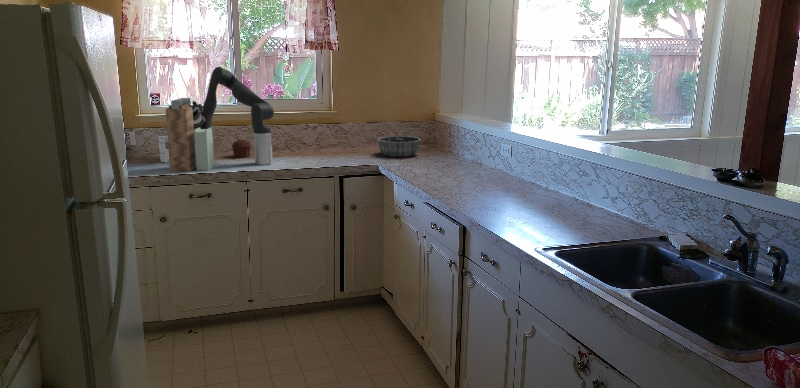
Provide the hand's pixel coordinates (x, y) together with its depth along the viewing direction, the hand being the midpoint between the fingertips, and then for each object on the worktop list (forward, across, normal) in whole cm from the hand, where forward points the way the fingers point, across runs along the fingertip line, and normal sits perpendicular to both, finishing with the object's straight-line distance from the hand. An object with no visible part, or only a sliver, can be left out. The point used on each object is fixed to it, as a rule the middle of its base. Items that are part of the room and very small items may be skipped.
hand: (185, 102), depth 321 cm
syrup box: (-27, -15, +24) cm, 39 cm away
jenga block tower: (-8, 0, +35) cm, 36 cm away
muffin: (-41, +23, +16) cm, 49 cm away
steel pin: (+5, 0, +5) cm, 7 cm away
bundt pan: (-48, +116, +12) cm, 126 cm away
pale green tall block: (-9, +11, +34) cm, 37 cm away
